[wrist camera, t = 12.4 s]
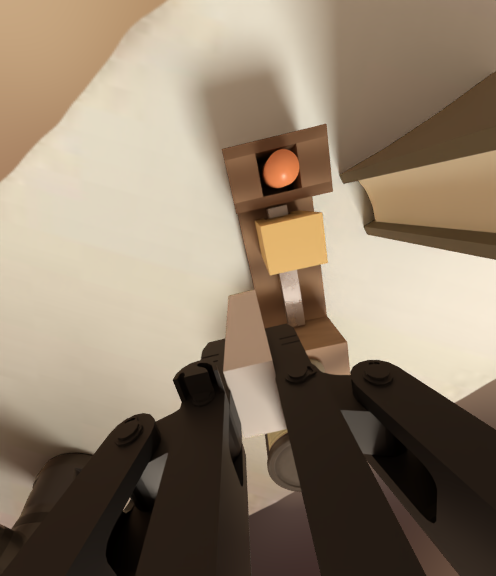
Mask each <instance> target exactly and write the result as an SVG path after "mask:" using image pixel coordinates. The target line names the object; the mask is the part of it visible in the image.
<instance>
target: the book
mask: <svg viewBox="0 0 496 576" xmlns="http://www.w3.org/2000/svg"><path fill="white" fill-rule="evenodd" d="M340 178H341V180H342V182H343V184H345V183H350V182H354V181H359V182H360V184H361V185H362V186H363V187H364V189H365V190H366V192H367V194H368V196H369V199H370V201H371V203H372V205H373V211H374V216H375V220H373V221H372V222H370V223H369V224H367V225H366V226H364V229H365V231H366V233H367V234H368V235H373V236H378V237H383V238H388V239H393V240H398V241H403V242H408V243H413V244H418V245H423V246H429V247H434V248H439V249H444V250H449V251H454V252H459V253H464V254H469V255H474V256H479V257H484V258H490V259H495V260H496V72H494V73H492V74H491V75H490V76H488V77H487V78H485V79H484V80H483V81H481V82H480V83H479V84H477V85H476V86H474V87H473V88H472V89H470V90H469V91H468V92H466V93H465V94H464V95H462V96H461V97H459V98H458V99H457V100H455V101H454V102H453V103H451V104H450V105H448V106H447V107H446V108H444V109H443V110H442V111H440V112H439V113H437V114H436V115H434V116H433V117H431V118H430V119H428V120H427V121H425V122H424V123H422V124H421V125H419V126H418V127H416V128H415V129H413V130H412V131H410V132H409V133H407V134H406V135H404V136H403V137H401V138H400V139H398V140H397V141H395V142H394V143H392V144H391V145H389V146H388V147H386V148H385V149H383V150H381V151H379V152H378V153H376V154H374V155H373V156H371V157H369V158H367V159H366V160H364V161H362V162H361V163H359V164H357V165H355V166H354V167H352V168H350V169H349V170H347V171H345V172H344V173H342V174H340Z"/></svg>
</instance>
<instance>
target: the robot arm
mask: <svg viewBox="0 0 496 576" xmlns="http://www.w3.org/2000/svg"><path fill="white" fill-rule="evenodd" d="M350 373H351V375H334V374H328V373H324V372H322V371H320V370H319V369H318V368H317V367H316V366H315V365H314V364H312V363H311V361H310V359H309V357H308V355H307V353H306V351H305V349H304V347H303V345H302V343H301V341H300V339H299V337H298V336H297V333H296V331H295V329H294V328H293V327H292V326H290V325H288V324H287V323H286V324H282V325H278V326H273V327H269V328H264V324H263V320H262V316H261V312H260V308H259V304H258V300H257V296H256V292H255V290H251V291H246V292H242V293H238V294H234V295H230V296H229V297H228V311H227V325H226V338H225V339H222V340H217V341H213V342H209V343H208V344H207V345H206V347H205V348H204V349H203V351H202V356H201V360H200V361H197V362H194V363H191V364H189V365H187V366H185V367H184V368H182V369H181V370H180V371H179V372H178V373H177V374H176V375H175V377H174V379H173V382H174V384H175V387H176V389H177V392H178V394H179V396H180V399H181V401H182V403H181V407H180V409H179V410H178V411H176V412H174V413H172V414H171V415H168V416H166V417H164V418H162V419H160V420H158V421H156V422H155V420H154V418H153V417H152V416H151V415H150V414H145V413H142V414H137V415H134V416H132V417H130V418H128V419H126V420H124V421H123V422H122V423H120V424H119V425H118V426H117V427H116V428H115V429H114V430H113V431H112V432H111V433H110V434H109V435H108V437H107V438H106V439H105V441H104V442H103V443H102V444H101V446H100V447H99V448H98V450H97V451H96V452H95V453H94V455H93V456H90V455H86V454H79V453H70V454H63V455H59V456H57V457H54V458H53V459H51V460H50V461H48V462H47V463H46V464H45V466H44V467H43V468H42V470H41V471H40V473H39V474H38V475H37V477H36V479H35V481H34V484H33V490H32V491H31V493H30V495H29V497H28V499H27V501H26V504H25V506H24V509H23V511H22V513H21V516H20V517H19V519H18V520H17V522H16V523H15V525H14V526H13V527H12V529H9V528H7V527H5V526H3V525H1V524H0V576H251V558H250V536H249V515H248V494H247V472H246V454H245V450H244V447H243V444H242V432H243V435H244V438H249V437H254V436H258V435H263V434H267V433H272V432H276V431H280V430H285V429H287V431H288V436H289V440H290V444H291V449H292V453H293V457H294V461H295V466H296V470H297V474H298V479H299V483H300V487H301V491H302V496H303V500H304V504H305V509H306V513H307V517H308V522H309V526H310V530H311V534H312V539H313V543H314V547H315V552H316V555H317V560H318V564H319V569H320V573H321V576H426V574H425V573H424V570H423V568H422V567H421V565H420V563H419V561H418V559H417V557H416V555H415V553H414V551H413V549H412V547H411V545H410V543H409V541H408V539H407V538H406V536H405V534H404V532H403V530H402V528H401V526H400V524H399V522H398V520H397V518H396V516H395V514H394V513H393V511H392V509H391V507H390V505H389V503H388V501H387V499H386V497H385V495H384V493H383V491H382V489H381V487H380V486H379V484H378V482H377V480H376V478H375V477H374V474H373V472H372V470H371V468H370V466H369V464H370V465H371V466H372V468H373V469H374V470H375V471H376V473H377V474H378V475H379V476H380V477H381V479H382V480H383V481H384V482H385V484H386V485H387V486H388V487H389V489H390V490H391V491H392V492H393V494H394V495H395V496H396V497H397V498H398V500H399V501H400V502H401V504H402V505H403V506H404V507H405V509H406V510H407V511H408V512H409V513H410V515H411V516H412V517H413V518H414V520H415V521H416V522H417V523H418V525H419V526H420V527H421V528H422V530H423V531H424V532H425V533H426V534H427V536H428V537H429V538H430V539H431V541H432V542H433V543H434V544H435V546H436V547H437V548H438V549H439V551H440V552H441V553H442V554H443V556H444V557H445V558H446V559H447V561H448V562H449V563H450V564H451V566H452V567H453V568H454V569H455V570H456V572H457V573H458V574H459V575H460V576H496V430H495V429H494V428H492V427H490V426H489V425H487V424H486V423H484V422H483V421H481V420H479V419H478V418H477V417H475V416H473V415H472V414H470V413H469V412H467V411H466V410H464V409H463V408H461V407H459V406H458V405H456V404H455V403H453V402H452V401H450V400H449V399H447V398H446V397H444V396H442V395H441V394H439V393H438V392H436V391H435V390H433V389H432V388H430V387H428V386H427V385H425V384H424V383H422V382H421V381H419V380H418V379H416V378H415V377H413V376H411V375H410V374H408V373H407V372H405V371H404V370H402V369H401V368H399V367H397V366H395V365H393V364H391V363H389V362H385V361H380V360H367V361H363V362H359V363H358V364H356V365H355V366H353V368H352V370H351V372H350ZM241 429H242V431H241ZM367 461H368V462H367ZM368 463H369V464H368ZM129 498H131V500H130V502H129V504H128V505H127V506H126V508H125V509H124V507H125V505H126V503H127V501H128V500H129ZM123 509H124V510H123Z"/></svg>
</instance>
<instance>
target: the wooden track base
mask: <svg viewBox="0 0 496 576" xmlns="http://www.w3.org/2000/svg"><path fill="white" fill-rule="evenodd" d="M280 149H287V150H290V151H291V152H293V153H294V154H295V155H296V157H297V159H298V161H299V173H298V175H297V177H296V179H295V180H294V181H293V182H292V183H291V184H289V185H286V186H284V187H281V188H279V189H276V190H271V189H268V188H266V187H265V186H264V185H263V183H262V181H261V171H262V168H263V167H264V165H265V163H266V162H267V160H268V159H269V157H270V156H271V155H272V154H273V153H274V152H275V151H277V150H280ZM222 152H223V156H224V160H225V165H226V169H227V174H228V178H229V183H230V187H231V191H232V196H233V200H234V205H235V209H236V214H238V217H239V222H240V226H241V231H242V235H243V240H244V244H245V249H246V253H247V258H248V262H249V266H250V271H251V275H252V280H253V284H254V289H255V292H256V296H257V300H258V304H259V308H260V312H261V316H262V320H263V324H264V328H269V327H273V326H278V325H282V324H286V323H287V319H286V314H285V308H284V303H283V298H282V292H281V287H280V281H279V276H278V274H275V275H270V274H269V272H268V270H267V267H266V265H265V263H264V260H263V258H262V254H261V250H260V245H259V240H258V235H257V230H256V225H255V220H259V219H263V218H264V219H265V220H267V219H268V217H267V211H266V209H268V208H273V207H277V206H281V205H287V210H288V215H289V214H290V212H294V211H298V210H302V211H311V212H314V208H313V199H312V196H315V195H320V194H324V193H328V192H333V188H332V177H331V167H330V156H329V146H328V135H327V125H326V124H323V125H319V126H315V127H311V128H307V129H303V130H298V131H294V132H290V133H286V134H282V135H278V136H274V137H270V138H266V139H262V140H257V141H253V142H249V143H245V144H241V145H237V146H233V147H229V148H225V149H222ZM297 274H298V280H299V286H300V293H301V299H302V305H303V312H304V318H305V325H300V326H295V327H293V328H294V329H295V331H296V333H297V336H298V337H299V339H300V341H301V343H302V345H303V347H304V349H305V351H306V353H307V355H308V357H309V359H310V361H311V363H312V364H314V365H315V366H316V367H317V368H318V369H319V370H320V371H322V372H324V373H328V374H334V375H350V367H349V356H348V346H347V341H346V340H345V339H344V337H343V336H342V335H341V334H340V332H339V331H338V330H337V328H336V327H335V326H334V325H333V323H332V322H331V321H330V319H329V318H328V317H327V314H326V306H325V297H324V289H323V281H322V273H321V265H316V266H311V267H306V268H302V269H297ZM287 324H288V323H287Z"/></svg>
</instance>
